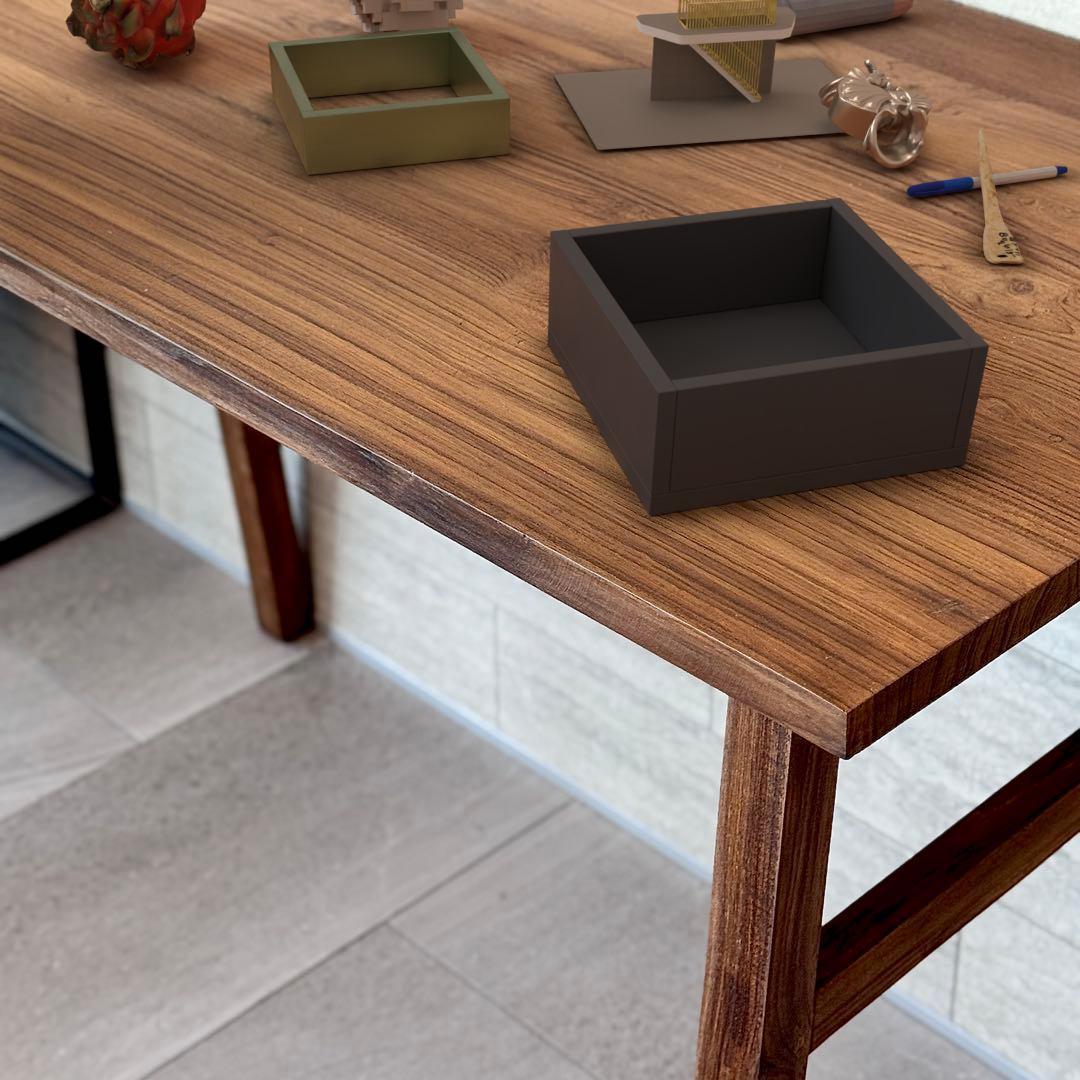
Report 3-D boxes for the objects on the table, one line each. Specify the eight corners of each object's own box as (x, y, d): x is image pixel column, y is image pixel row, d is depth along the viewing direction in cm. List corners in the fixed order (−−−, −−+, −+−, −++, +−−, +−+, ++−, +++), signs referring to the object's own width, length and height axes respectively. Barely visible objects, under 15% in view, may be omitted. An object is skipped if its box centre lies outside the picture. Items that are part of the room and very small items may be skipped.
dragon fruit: (119, 119, 105) (150, 75, 115) (223, 37, 103) (245, 0, 113) (23, 5, 101) (64, -29, 112) (128, -81, 99) (160, -108, 110)
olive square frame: (307, 175, 95) (303, 117, 93) (272, 96, 104) (268, 41, 102) (509, 154, 98) (510, 97, 96) (458, 79, 107) (458, 25, 105)
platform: (885, 129, 102) (901, 22, 98) (597, 149, 98) (602, 40, 94) (817, 58, 111) (830, -42, 107) (553, 74, 108) (556, -28, 104)
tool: (998, 133, 98) (964, 132, 98) (1001, 122, 97) (966, 121, 97) (1022, 273, 88) (984, 272, 88) (1025, 262, 88) (986, 260, 88)
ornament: (950, 173, 99) (977, 120, 97) (857, 174, 96) (882, 118, 94) (882, 100, 104) (905, 47, 102) (791, 98, 101) (813, 44, 98)
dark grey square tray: (649, 516, 69) (658, 392, 66) (547, 344, 80) (550, 230, 77) (965, 465, 73) (990, 345, 69) (825, 307, 84) (840, 196, 80)
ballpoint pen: (903, 198, 95) (912, 205, 94) (905, 183, 94) (914, 190, 93) (1061, 171, 98) (1071, 178, 97) (1064, 157, 97) (1074, 164, 96)
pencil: (781, 49, 113) (791, 8, 111) (757, 27, 115) (767, -13, 113) (912, 27, 118) (924, -12, 116) (887, 7, 120) (898, -32, 118)
